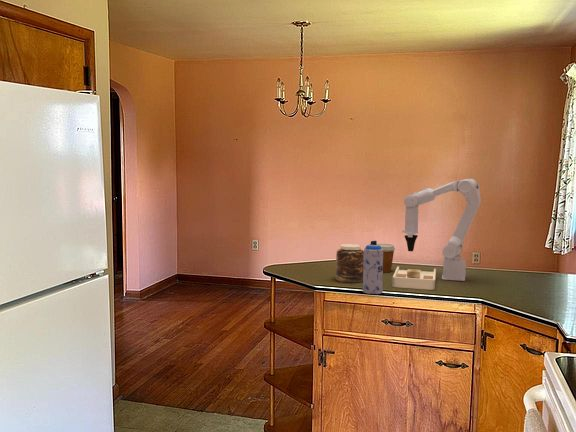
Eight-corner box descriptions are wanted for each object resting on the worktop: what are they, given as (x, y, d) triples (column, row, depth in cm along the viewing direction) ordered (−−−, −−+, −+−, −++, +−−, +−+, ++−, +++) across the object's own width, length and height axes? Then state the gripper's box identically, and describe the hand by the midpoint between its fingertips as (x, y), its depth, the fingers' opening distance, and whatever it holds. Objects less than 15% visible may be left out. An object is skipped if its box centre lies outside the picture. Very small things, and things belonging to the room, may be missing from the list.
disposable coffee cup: (389, 273, 241) (390, 247, 240) (370, 271, 247) (370, 245, 245) (397, 270, 249) (398, 245, 248) (379, 267, 255) (379, 243, 253)
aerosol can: (377, 294, 203) (379, 243, 201) (359, 292, 207) (360, 241, 205) (385, 290, 209) (387, 240, 207) (367, 288, 213) (368, 238, 211)
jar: (355, 276, 236) (355, 242, 235) (368, 281, 225) (369, 246, 224) (331, 278, 232) (331, 244, 230) (344, 283, 221) (344, 248, 219)
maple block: (420, 279, 219) (420, 269, 218) (419, 281, 214) (419, 272, 213) (407, 278, 220) (407, 269, 220) (406, 281, 215) (407, 271, 215)
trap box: (435, 277, 234) (435, 268, 233) (434, 290, 211) (435, 280, 211) (397, 275, 239) (397, 266, 238) (392, 287, 216) (392, 277, 215)
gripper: (403, 219, 247) (402, 248, 249) (401, 222, 234) (400, 253, 235) (419, 219, 245) (418, 248, 247) (417, 223, 232) (416, 254, 233)
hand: (410, 251), depth 241 cm, fingers closed
